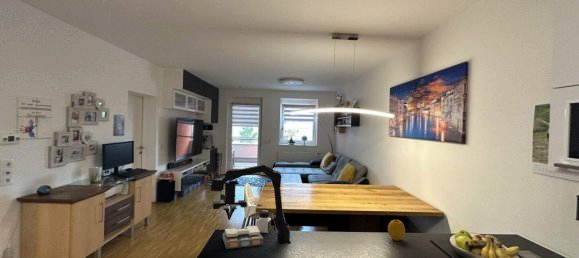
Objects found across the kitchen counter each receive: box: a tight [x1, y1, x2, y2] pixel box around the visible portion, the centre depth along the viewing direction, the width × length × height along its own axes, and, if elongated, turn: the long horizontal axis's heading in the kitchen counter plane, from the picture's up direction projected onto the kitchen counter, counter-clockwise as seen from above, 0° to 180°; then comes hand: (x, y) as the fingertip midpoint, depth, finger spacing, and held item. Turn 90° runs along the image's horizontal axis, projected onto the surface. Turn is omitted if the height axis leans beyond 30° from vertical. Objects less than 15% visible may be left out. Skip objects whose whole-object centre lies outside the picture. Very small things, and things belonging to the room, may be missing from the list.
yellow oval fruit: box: [387, 219, 406, 242], centre depth 179 cm, size 10×10×12 cm
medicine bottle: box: [256, 210, 272, 234], centre depth 188 cm, size 7×7×12 cm
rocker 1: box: [224, 227, 238, 237], centre depth 169 cm, size 6×8×2 cm
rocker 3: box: [245, 225, 261, 235], centre depth 173 cm, size 6×8×2 cm
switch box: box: [222, 232, 264, 250], centre depth 170 cm, size 20×14×4 cm
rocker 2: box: [236, 228, 249, 235], centre depth 171 cm, size 6×8×2 cm
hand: (228, 219), depth 170 cm, fingers closed
